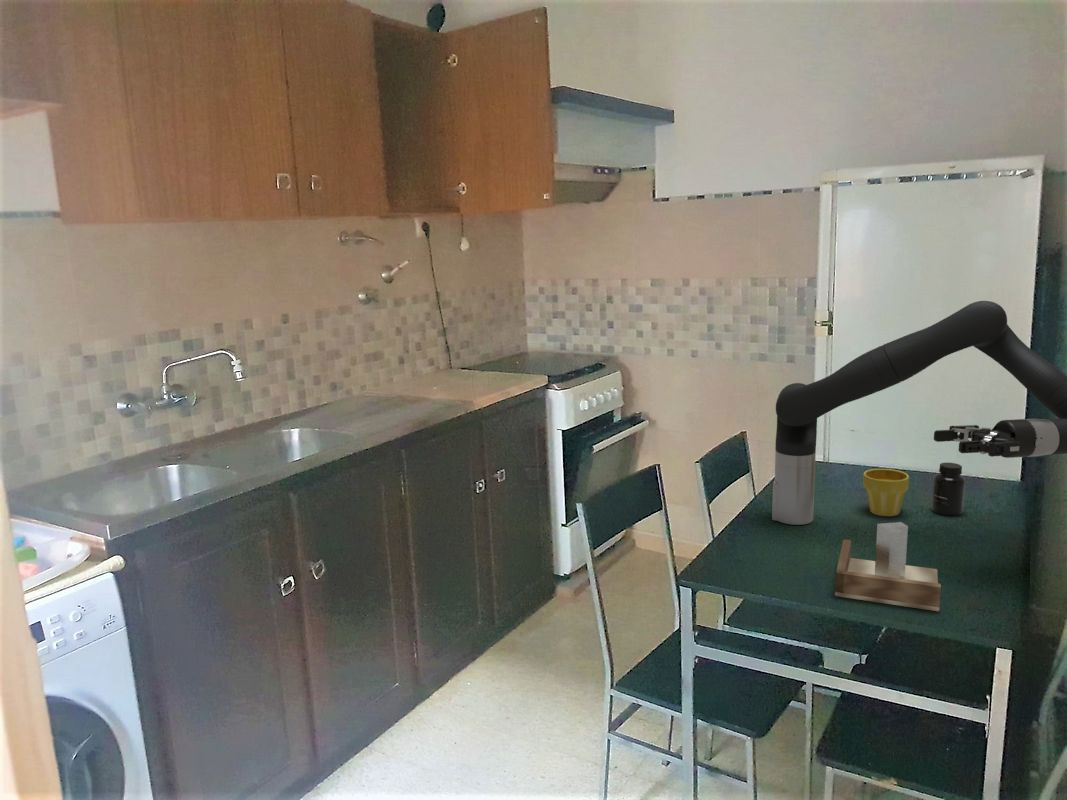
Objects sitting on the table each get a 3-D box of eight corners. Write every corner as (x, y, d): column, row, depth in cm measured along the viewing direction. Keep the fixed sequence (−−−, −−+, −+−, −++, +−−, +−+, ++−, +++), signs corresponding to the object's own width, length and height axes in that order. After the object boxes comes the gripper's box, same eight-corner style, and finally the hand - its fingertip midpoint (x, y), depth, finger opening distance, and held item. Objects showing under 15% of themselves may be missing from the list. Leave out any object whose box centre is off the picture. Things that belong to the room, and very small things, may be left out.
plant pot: (852, 509, 200) (854, 471, 198) (883, 502, 204) (886, 465, 201) (884, 522, 190) (886, 483, 188) (916, 515, 194) (919, 476, 192)
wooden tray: (834, 595, 154) (836, 572, 153) (842, 560, 170) (843, 539, 169) (939, 611, 146) (940, 587, 145) (936, 572, 162) (938, 550, 161)
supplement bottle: (932, 515, 194) (935, 467, 191) (930, 506, 200) (933, 460, 197) (964, 518, 191) (968, 470, 189) (961, 508, 197) (964, 462, 195)
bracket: (874, 575, 160) (877, 523, 158) (898, 573, 161) (901, 522, 159) (887, 586, 156) (890, 533, 153) (912, 584, 156) (915, 531, 154)
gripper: (1003, 411, 164) (928, 415, 163) (1052, 428, 151) (970, 432, 149) (1000, 446, 166) (925, 450, 165) (1048, 466, 152) (967, 470, 151)
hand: (947, 441), depth 157 cm, fingers open, 8 cm apart
